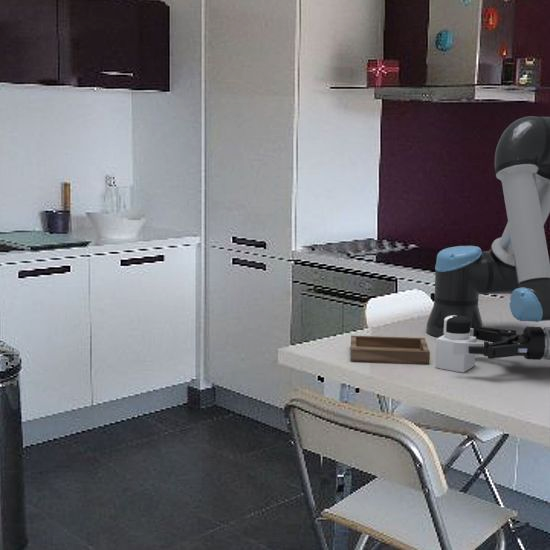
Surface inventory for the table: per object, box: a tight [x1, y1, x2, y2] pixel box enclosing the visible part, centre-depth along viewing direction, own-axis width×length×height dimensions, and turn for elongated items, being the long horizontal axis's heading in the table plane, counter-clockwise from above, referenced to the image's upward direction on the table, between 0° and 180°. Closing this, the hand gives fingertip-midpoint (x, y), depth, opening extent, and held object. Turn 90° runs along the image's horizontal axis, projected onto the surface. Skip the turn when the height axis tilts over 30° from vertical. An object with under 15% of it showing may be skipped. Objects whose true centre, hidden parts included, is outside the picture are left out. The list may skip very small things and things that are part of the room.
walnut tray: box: [350, 335, 431, 365], centre depth 206 cm, size 13×18×3 cm
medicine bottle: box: [434, 315, 477, 373], centre depth 197 cm, size 7×7×12 cm
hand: (449, 340), depth 196 cm, fingers open, 13 cm apart
